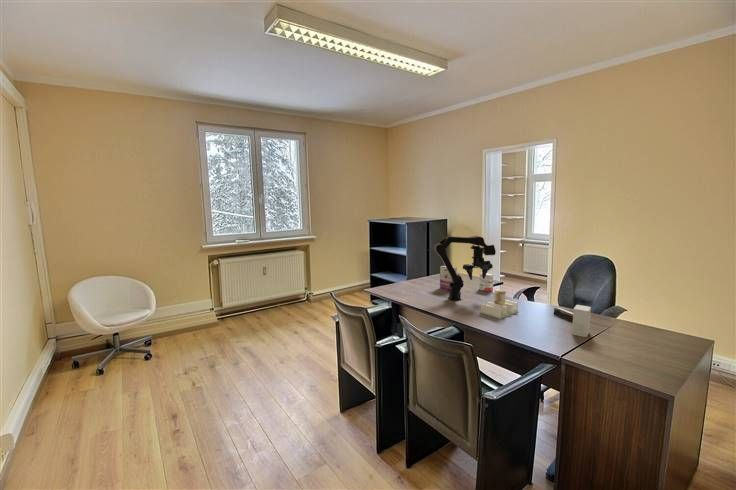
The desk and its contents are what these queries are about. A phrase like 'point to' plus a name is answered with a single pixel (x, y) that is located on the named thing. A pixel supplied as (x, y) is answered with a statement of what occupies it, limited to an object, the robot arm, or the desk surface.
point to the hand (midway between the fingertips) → (477, 279)
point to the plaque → (499, 297)
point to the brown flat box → (564, 313)
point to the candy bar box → (445, 277)
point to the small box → (581, 320)
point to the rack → (499, 309)
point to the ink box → (486, 282)
